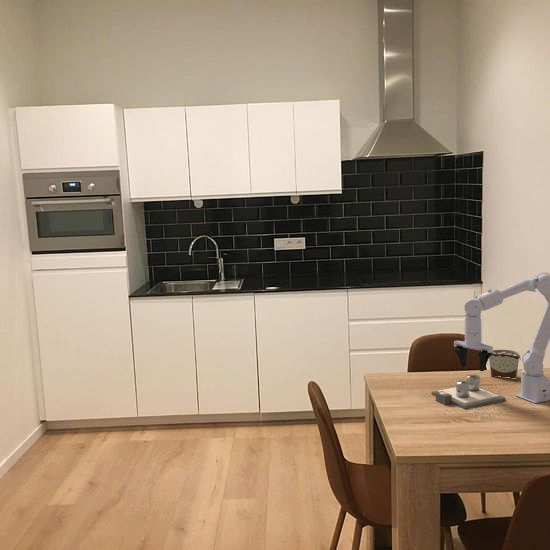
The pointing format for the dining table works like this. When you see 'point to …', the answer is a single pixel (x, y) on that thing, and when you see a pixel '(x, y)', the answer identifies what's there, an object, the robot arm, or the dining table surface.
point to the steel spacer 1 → (462, 389)
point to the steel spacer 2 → (473, 382)
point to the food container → (504, 363)
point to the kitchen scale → (472, 401)
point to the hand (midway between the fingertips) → (473, 368)
